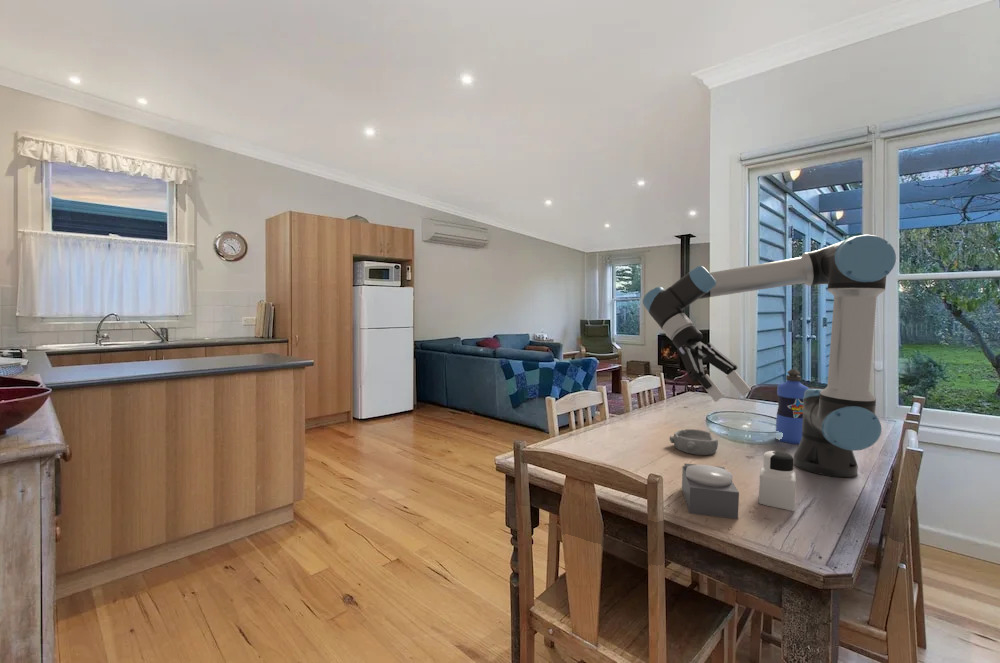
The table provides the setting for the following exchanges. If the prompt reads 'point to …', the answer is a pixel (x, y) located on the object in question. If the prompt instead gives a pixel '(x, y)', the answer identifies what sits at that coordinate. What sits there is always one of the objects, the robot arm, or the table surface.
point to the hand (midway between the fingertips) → (733, 395)
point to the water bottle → (790, 408)
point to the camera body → (709, 491)
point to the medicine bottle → (777, 481)
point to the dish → (694, 442)
